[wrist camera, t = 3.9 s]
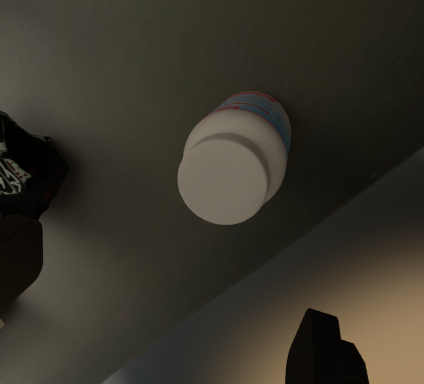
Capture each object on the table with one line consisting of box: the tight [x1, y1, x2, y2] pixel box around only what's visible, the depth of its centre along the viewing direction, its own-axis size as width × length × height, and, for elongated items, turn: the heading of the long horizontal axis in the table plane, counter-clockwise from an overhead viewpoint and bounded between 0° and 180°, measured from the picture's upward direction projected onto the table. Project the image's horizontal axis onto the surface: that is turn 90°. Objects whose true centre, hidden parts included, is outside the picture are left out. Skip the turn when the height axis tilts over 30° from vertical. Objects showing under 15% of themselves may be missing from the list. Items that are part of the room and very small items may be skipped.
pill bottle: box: [178, 91, 291, 225], centre depth 22 cm, size 6×6×11 cm
